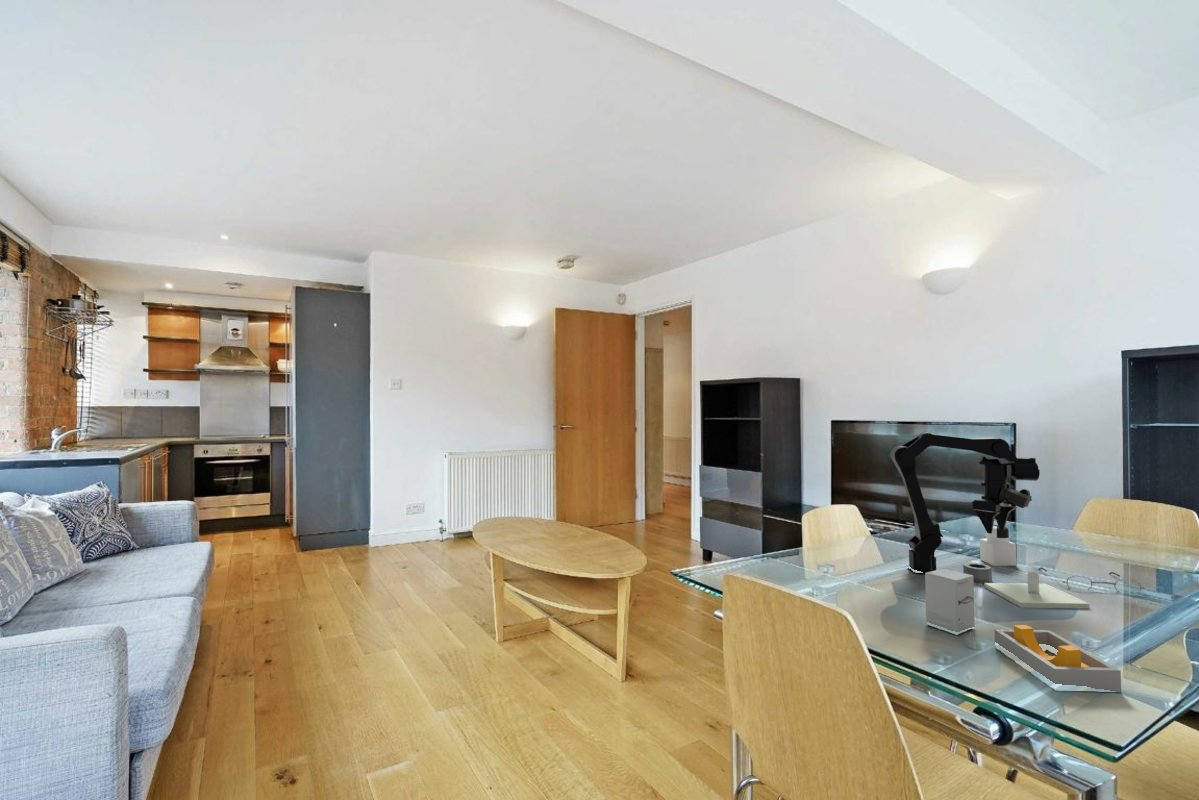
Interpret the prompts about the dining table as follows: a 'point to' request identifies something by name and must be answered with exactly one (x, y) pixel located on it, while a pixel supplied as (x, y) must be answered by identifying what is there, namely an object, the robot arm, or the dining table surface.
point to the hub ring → (978, 572)
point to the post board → (1035, 594)
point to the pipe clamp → (1064, 657)
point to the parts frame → (1093, 676)
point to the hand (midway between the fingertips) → (995, 531)
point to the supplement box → (950, 599)
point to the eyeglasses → (1099, 582)
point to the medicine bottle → (998, 548)
